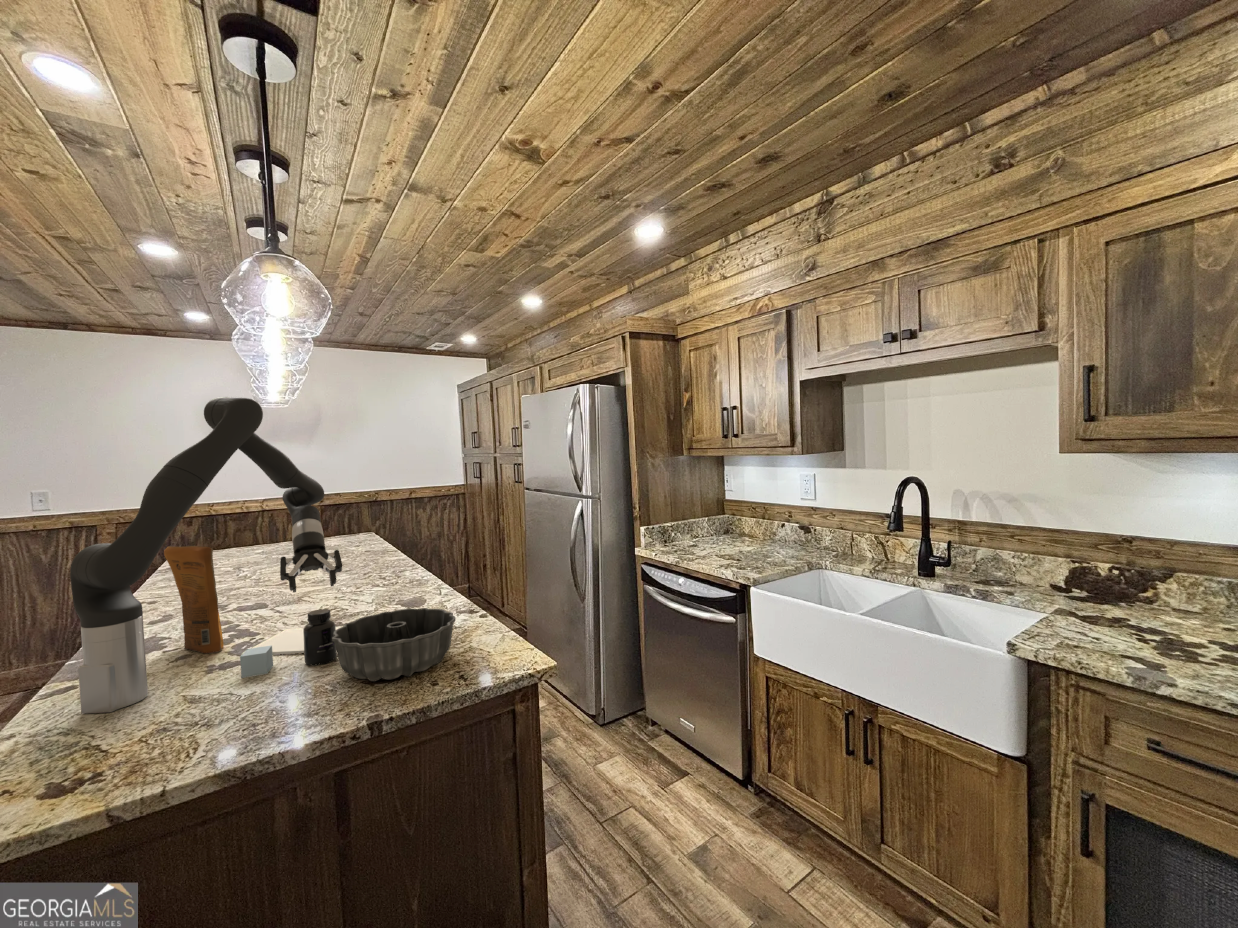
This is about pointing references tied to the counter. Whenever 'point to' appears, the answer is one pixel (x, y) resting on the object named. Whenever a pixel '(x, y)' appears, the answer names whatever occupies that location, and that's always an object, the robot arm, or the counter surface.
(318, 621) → the supplement bottle
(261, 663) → the blue block
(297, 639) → the mat
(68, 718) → the counter surface
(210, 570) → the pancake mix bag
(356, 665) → the bundt pan
